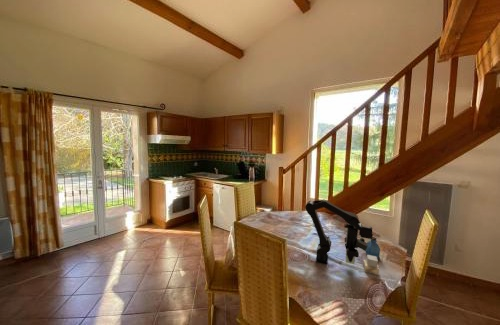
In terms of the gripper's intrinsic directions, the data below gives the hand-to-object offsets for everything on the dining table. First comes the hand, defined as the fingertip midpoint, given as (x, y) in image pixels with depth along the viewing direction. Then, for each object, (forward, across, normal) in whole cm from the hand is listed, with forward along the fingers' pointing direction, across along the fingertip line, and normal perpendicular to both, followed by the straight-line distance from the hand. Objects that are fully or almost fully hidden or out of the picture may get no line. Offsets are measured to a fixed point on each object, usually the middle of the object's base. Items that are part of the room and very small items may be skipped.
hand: (349, 259), depth 128 cm
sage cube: (+1, 0, 0) cm, 1 cm away
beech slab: (+5, +2, -12) cm, 13 cm away
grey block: (+1, +2, -12) cm, 12 cm away
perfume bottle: (+5, +21, -16) cm, 27 cm away
